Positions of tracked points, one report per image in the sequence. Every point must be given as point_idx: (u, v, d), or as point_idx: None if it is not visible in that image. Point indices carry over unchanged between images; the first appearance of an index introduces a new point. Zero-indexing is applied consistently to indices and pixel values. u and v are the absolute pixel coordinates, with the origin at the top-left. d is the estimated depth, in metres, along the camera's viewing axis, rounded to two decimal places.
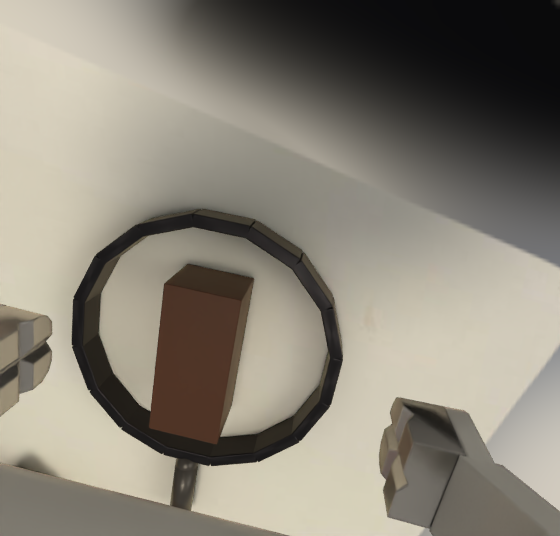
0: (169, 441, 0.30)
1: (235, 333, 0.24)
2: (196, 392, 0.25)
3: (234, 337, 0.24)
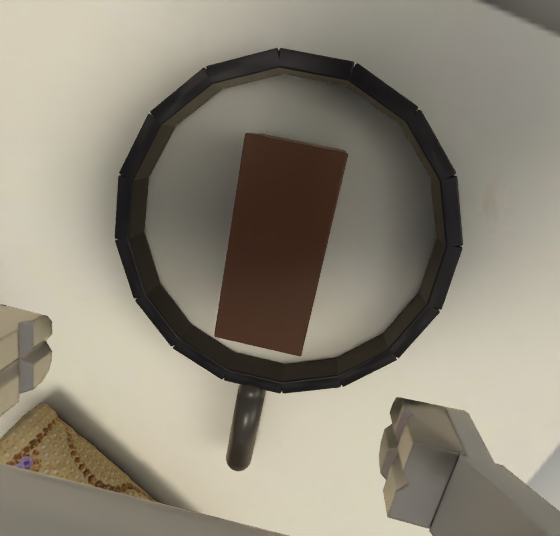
0: (231, 365, 0.24)
1: (336, 201, 0.18)
2: (279, 285, 0.20)
3: (334, 207, 0.18)
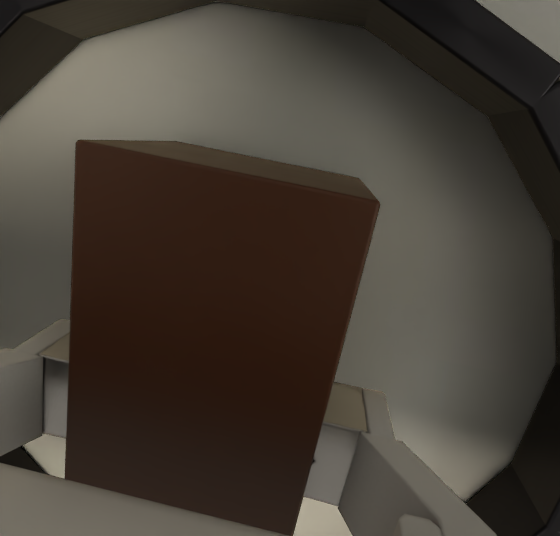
0: None
1: (343, 333, 0.06)
2: None
3: (339, 348, 0.06)
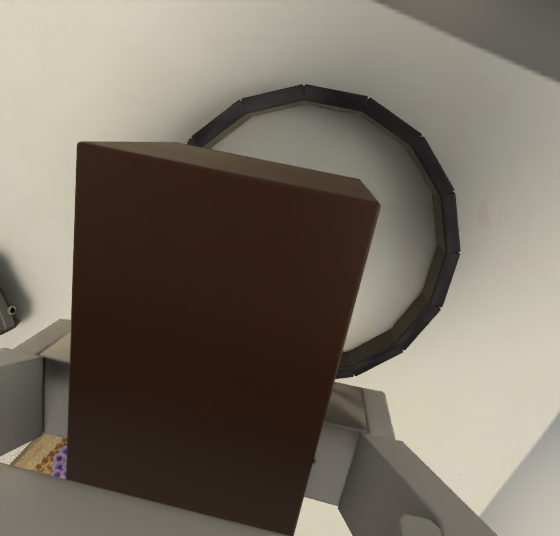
0: None
1: (343, 334, 0.06)
2: None
3: (339, 349, 0.06)
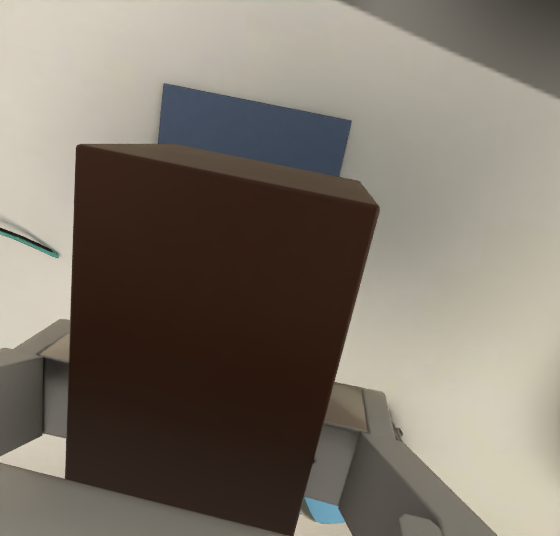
0: None
1: (343, 337, 0.06)
2: None
3: (338, 352, 0.06)
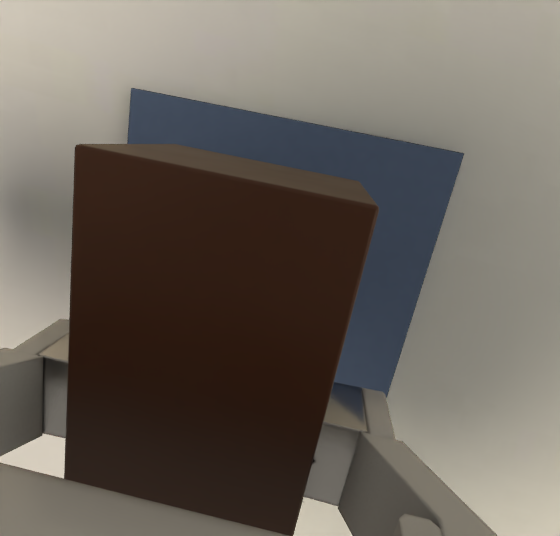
0: None
1: (342, 337, 0.06)
2: None
3: (338, 352, 0.06)
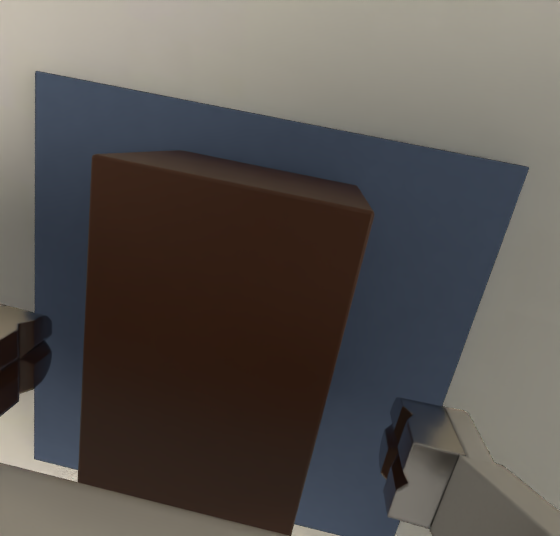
0: None
1: (340, 333, 0.07)
2: (205, 511, 0.08)
3: (336, 347, 0.07)
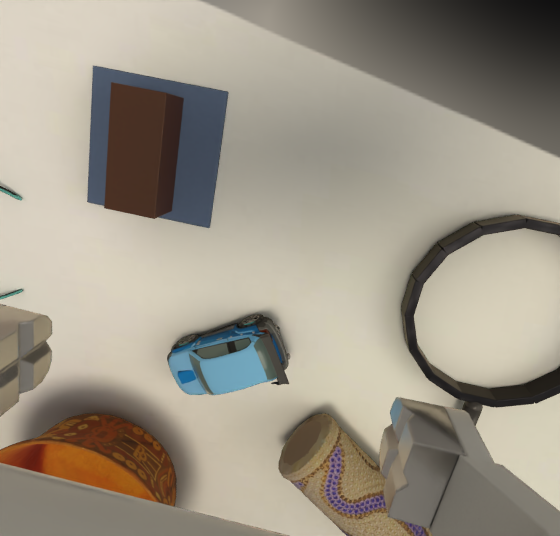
0: (460, 389, 0.39)
1: (163, 121, 0.32)
2: (137, 173, 0.34)
3: (163, 124, 0.32)
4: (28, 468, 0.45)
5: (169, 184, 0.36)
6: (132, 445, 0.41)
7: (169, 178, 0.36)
